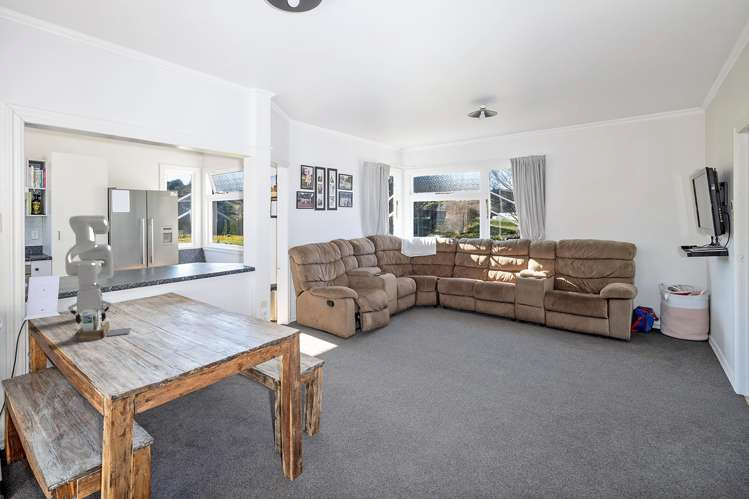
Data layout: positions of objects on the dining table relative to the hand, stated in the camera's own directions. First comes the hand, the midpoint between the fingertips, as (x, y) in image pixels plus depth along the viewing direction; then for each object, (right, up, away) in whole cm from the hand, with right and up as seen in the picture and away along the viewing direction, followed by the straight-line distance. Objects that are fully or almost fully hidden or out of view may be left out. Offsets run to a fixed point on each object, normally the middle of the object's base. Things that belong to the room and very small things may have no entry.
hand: (91, 321), depth 188 cm
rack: (-1, -7, +3) cm, 8 cm away
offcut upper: (-3, -4, +7) cm, 8 cm away
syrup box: (0, -8, +1) cm, 8 cm away
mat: (+9, -7, +7) cm, 13 cm away
